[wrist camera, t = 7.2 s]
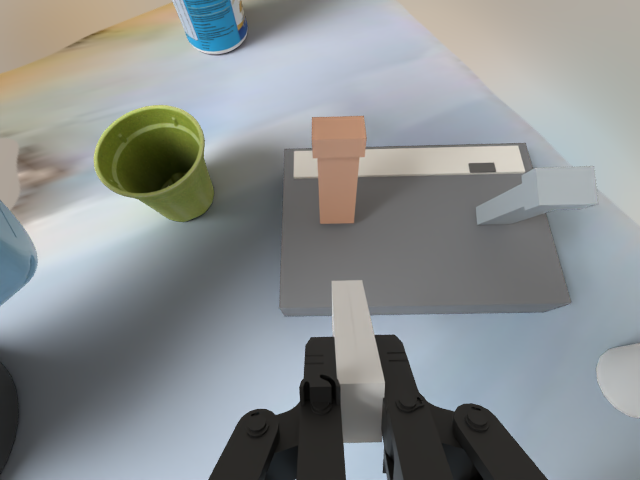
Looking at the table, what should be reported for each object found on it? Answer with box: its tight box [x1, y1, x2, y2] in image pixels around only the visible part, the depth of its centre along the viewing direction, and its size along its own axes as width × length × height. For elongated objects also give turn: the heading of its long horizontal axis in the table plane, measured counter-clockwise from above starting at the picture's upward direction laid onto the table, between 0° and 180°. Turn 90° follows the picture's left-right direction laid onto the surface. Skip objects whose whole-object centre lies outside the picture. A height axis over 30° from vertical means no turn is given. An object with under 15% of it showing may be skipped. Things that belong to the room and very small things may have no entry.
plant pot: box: [94, 105, 214, 222], centre depth 34 cm, size 9×9×9 cm
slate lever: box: [476, 166, 598, 225], centre depth 26 cm, size 4×2×10 cm, turn 91°
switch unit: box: [279, 143, 571, 316], centre depth 33 cm, size 24×16×4 cm, turn 91°
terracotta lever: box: [312, 116, 367, 224], centre depth 27 cm, size 4×2×10 cm, turn 91°
